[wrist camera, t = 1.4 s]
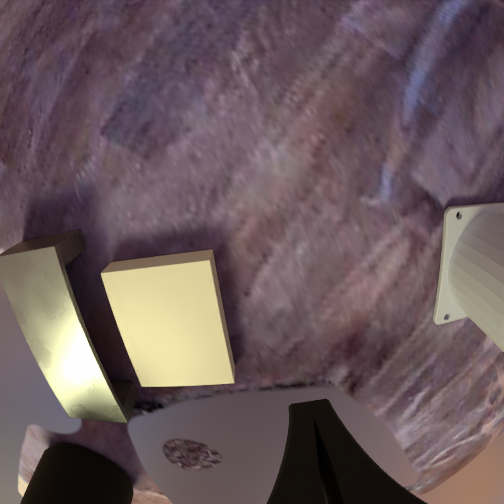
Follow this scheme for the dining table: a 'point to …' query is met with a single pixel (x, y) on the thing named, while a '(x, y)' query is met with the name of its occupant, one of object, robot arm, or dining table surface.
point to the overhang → (61, 328)
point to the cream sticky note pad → (171, 318)
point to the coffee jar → (77, 478)
